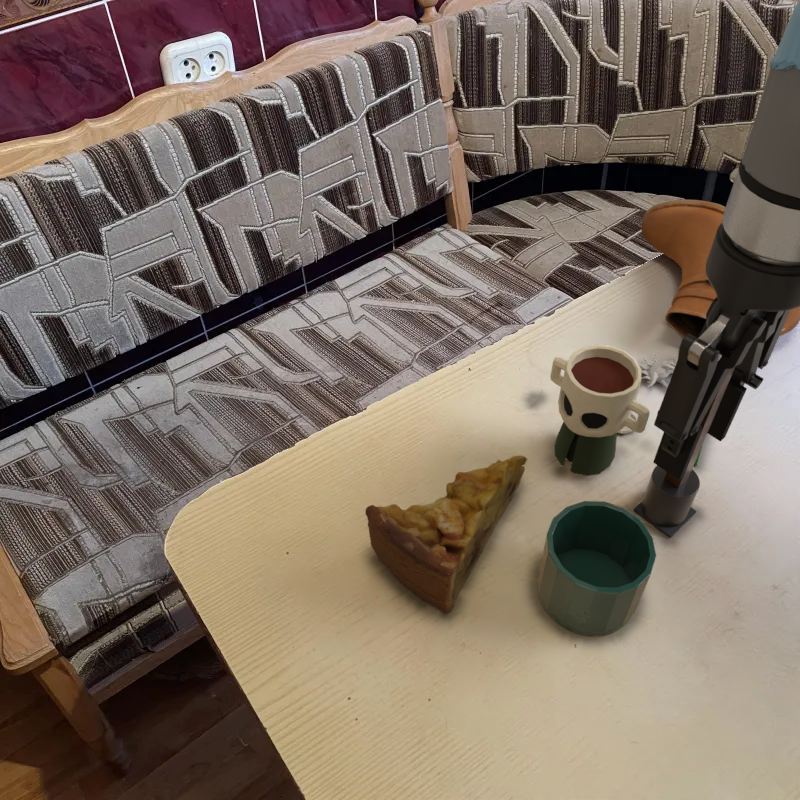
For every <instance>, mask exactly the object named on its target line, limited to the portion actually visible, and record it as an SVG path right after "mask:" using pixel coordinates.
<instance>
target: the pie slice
mask: <svg viewBox="0 0 800 800" xmlns="http://www.w3.org/2000/svg"><path fill="white" fill-rule="evenodd" d="M527 461H528V457H526V456H525V455H514V456H512V457H510V458H507V459H504V460H501V459H496V462H493V463H491V464H489V465H488V466H486V467H483V468H482V467H481V468H477V469H476V468H475V469H473V470H470V471H466V472H462V471H458V472H457V473H456V474H455V477H454V481H452V482H447V483H446V487H445V489H446V490H445V491H446V492H445V493H446V495H445V496H444V497H439V498H438V499H436V500H435V501H433V502H431V503H428V504H422V505H420V504H414V505H411V506H409V507H408V508H407V509H402V508H400V507H399V505H398V504H394V503H392V504H390V505H387V506H381V505H380V506H376V505H374V504H371V505H368V506H367V507H366V508H365V516H366V518H367V521H368V522H367V527H368V533H369V534H368V535H369V540H370V546H371V548H372V550H373V551H374V553H375V555H376V557H377V558H378V560H379V561H380V562H381V564H382V565H383V566H384V567H385V569H386V570H387V571H388V572H389V573H390V574H391V575H392V576H393V577H394V578H395V579H396V580H397V581H398V582H399V583H400V584H401V585H402V586H403V587H405V588H406V589H407V590H408V591H410V592H411V593H412V594H414V595H415V596H416V597H417V598H419V599H420V600H421V601H423V602H424V603H426V604H427V605H429V606H431V607H433V608H435V609H436V610H439V611H440V612H442V613H445V614H448V613H450V612H451V611H452V610H453V609H454V607H455V602H456V598H457V596H458V594H459V592H460V591H461V589H462V588H463V587H464V584H465V583H466V581H467V579H469V576H470V574H471V572H472V569H473V567H474V565H475V564H476V562H477V560H478V559H479V558H480V556H481V554H482V553H483V550H484V547H485V546H486V544H487V542H488V541H489V539H490V537H491V536H492V534H493V532H494V530H495V528H496V526H497V524H498V523H499V520H500V518H501V517H502V516H503V515H504V513H505V511H506V509H507V508H508V506H509V504H510V502H511V501H512V499H513V497H514V494H515V491H517V490H518V487H519V485H520V483H521V480H522V477H523V475H524V473H525V469H526V468H525V466H524V465H526V463H527Z"/></svg>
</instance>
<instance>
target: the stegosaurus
mask: <svg viewBox="0 0 800 800" xmlns="http://www.w3.org/2000/svg"><path fill="white" fill-rule="evenodd" d="M643 359H644V361H645V363H638V364H639V366H640V368H641V375H644V376H641V380H642V379H644V380H647V381H646V383H645V386H646V385H647V389H648V388H650V387H652V386H654V385H655V384H656V383H659V384H661V385H662V386H664V387H665V388H666V389H667V388H668V384H667V382H666V381H665V379H666V378H668V377H669V375H672V374H673V371H674V369H675V366H676V363H674V362H675V358H671V359H670V360H667V359H666V360H664V359H662V358H660V359H658V358H653V360H651V359H648V358H645V357H644V358H643Z"/></svg>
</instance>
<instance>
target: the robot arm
mask: <svg viewBox="0 0 800 800" xmlns="http://www.w3.org/2000/svg"><path fill="white" fill-rule="evenodd" d="M729 180H730V182H732V183H733V184H732V186H731V190H730V192H729V196H728V199H727V201H726V205H725V207H726V208H725V211H724V214H723V217H722V223H721V224H720V226H719V227H718V229H717V232H716V235H715V238H714V241H713V244H712V247H711V250H710V253H709V256H708V259H707V262H706V275H707V278H708V280H709V282H710V284H711V285H712V287H713V289H714V290H715V292H716V295H717V297H716V298H715V299H714V300H713V302H712V303H711V305H710V307H709V309H708V311H707V313H706V323H705V325H704V327H703V329H702V331H701V333H700V335H699V337H698V338H696V337H694V336H692V335H691V334H687V335H686V336H685V337H684V338H681V341H680V344H679V346H678V355H677V361H676V363H675V364H676V366H675V369H674V371H673V374H671V377H670V379H669V383H668V384H667V386H668V388H666V390H665V393H664V396H663V399H662V402H661V404H660V407H659V409H658V410H657V415H656V417H655V420H654V423H653V426H655V427H656V428H658V429H659V430H661V431H662V432H663V433H662V437H661V439H660V442H659V444H658V447H657V450H656V453H655V456H654V459H653V462H652V463H654V464H655V465H656V466H657V465H658V466H659V467H660V468H662V469H663V470H665V471H666V472H668V473H669V474H671V475H672V476H674V477H675V478H676V479H678V480H680V479H681V478H682V477H683V476H684V474H685V472H686V469H687V467H688V465H689V462H690V460H691V457H692V455H693V452H694V450H695V448H696V445H697V443H698V440H699V438H700V436H701V433H702V431H703V428H704V427H702V426H701V425H700V424H701V422H702V420H703V418H704V417H705V415H706V413H707V411H708V409H709V407H710V406H711V404H712V402H713V400H714V398H715V396H716V394H717V393H718V391H719V389H720V387H721V385H722V383H723V382H724V380H725V378H726V376H727V374H728V372H729V370H730V369H732V368H734V367H735V369H734V371H733V373H732V376H731V378H730V381H729V383H728V385H727V388H726V390H725V392H724V395H723V397H722V399H721V402H720V404H719V407H718V409H717V411H716V414H715V416H714V418H713V421H712V423H711V426H710V428H709V430H708V433H707V435H709V436H711V437H713V438H714V439H715V440H718V442H722V441H723V440H724V439H725V438H726V436H727V434H728V432H729V430H730V427H731V425H732V423H733V421H734V418H735V416H736V414H737V412H738V410H739V407H740V405H741V403H742V401H743V399H744V397H745V394H746V392H747V389H748V388H747V387H746V386H749V387H750V388H751V389H754V390H757V389H758V388H759V387H760V386H761V385H762V383H763V381H764V377H762V376H760V375H758V374H757V371H758V369H759V370H762V369H763V368H765V367H766V366H768V364H769V360H770V358H771V356H772V354H773V351H774V350H775V346H776V345H777V342H778V340H779V338H780V337H779V335H780V333H781V331H782V328H783V326H784V324H785V322H786V319H787V317H788V315H789V313H790V310H791V309H794V308H797V307H800V0H798V1H797V2H796V4H795V6H794V8H793V10H792V13H791V15H790V17H789V20H788V22H787V25H786V28H785V29H784V32H783V35H782V37H781V39H780V42H779V44H778V47H777V49H776V52H775V54H774V56H773V57H772V58H771V59H770V62H769V71H768V75H767V77H766V82H765V85H764V88H763V92H762V95H761V99H760V102H759V105H758V108H757V111H756V114H755V117H754V120H753V124H752V127H751V129H750V132H749V136H748V139H747V142H746V145H745V148H744V151H743V154H742V157H741V159H740V162H739V165H738V167H737V168H734V169H733V170H732V171H731V173H730V174H729ZM730 351H735V352H734V353H732V352H730ZM745 385H746V386H745Z"/></svg>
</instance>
